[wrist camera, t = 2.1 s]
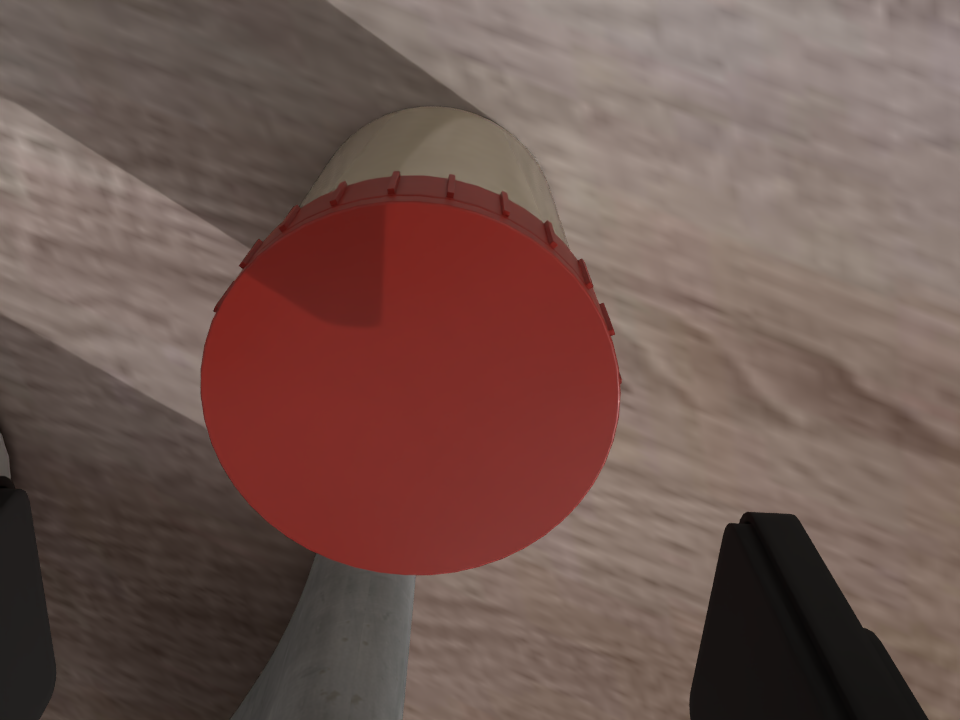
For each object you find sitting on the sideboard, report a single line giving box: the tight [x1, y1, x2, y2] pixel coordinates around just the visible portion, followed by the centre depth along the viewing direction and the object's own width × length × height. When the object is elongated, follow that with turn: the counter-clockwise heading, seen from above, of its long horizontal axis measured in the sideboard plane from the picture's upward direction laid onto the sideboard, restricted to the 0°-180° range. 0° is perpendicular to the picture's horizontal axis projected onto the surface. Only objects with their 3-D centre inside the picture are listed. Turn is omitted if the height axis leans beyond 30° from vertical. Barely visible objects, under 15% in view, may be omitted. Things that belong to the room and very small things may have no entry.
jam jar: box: [299, 106, 570, 250], centre depth 19 cm, size 6×6×10 cm
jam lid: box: [201, 171, 622, 575], centre depth 15 cm, size 7×7×2 cm
